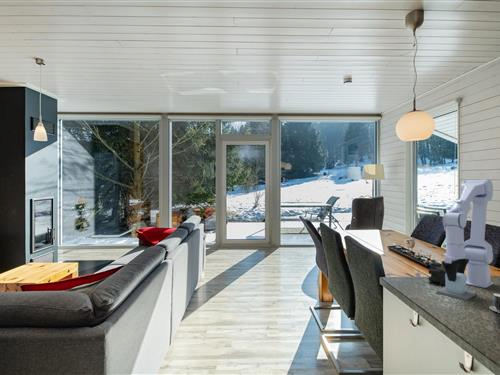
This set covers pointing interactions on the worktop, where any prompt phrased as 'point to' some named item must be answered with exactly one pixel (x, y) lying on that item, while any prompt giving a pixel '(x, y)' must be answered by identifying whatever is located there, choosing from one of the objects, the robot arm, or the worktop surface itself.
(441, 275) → the end cap
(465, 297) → the board
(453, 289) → the pale blue cube
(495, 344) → the worktop surface
